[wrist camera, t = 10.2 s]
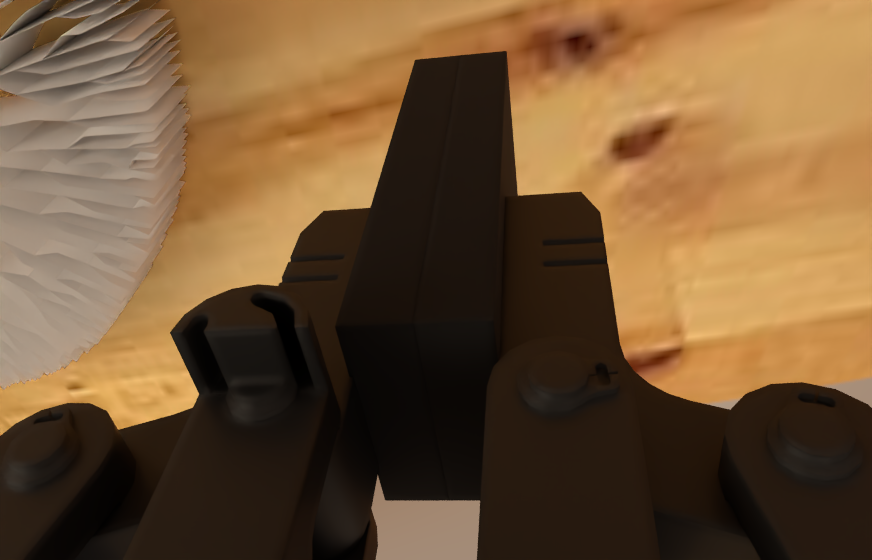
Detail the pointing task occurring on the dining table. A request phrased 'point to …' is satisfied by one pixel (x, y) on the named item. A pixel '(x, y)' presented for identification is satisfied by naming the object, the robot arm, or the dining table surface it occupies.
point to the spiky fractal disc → (82, 176)
